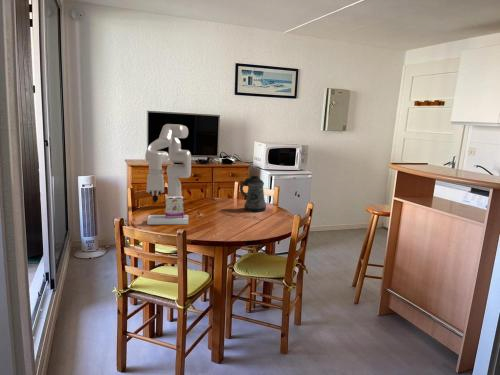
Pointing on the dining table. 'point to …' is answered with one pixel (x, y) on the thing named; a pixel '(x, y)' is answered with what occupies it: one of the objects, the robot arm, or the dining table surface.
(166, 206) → the candy bar box
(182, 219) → the acrylic channel
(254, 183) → the beer stein
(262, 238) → the dining table surface
